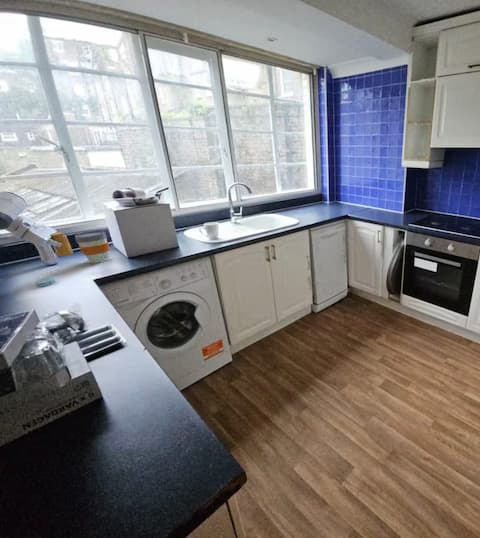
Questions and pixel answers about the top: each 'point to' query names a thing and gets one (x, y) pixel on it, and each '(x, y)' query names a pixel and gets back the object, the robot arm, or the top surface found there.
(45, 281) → the jar lid
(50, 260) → the plastic bottle
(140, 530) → the top surface
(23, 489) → the top surface
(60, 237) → the jar
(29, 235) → the robot arm
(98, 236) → the reusable coffee cup
